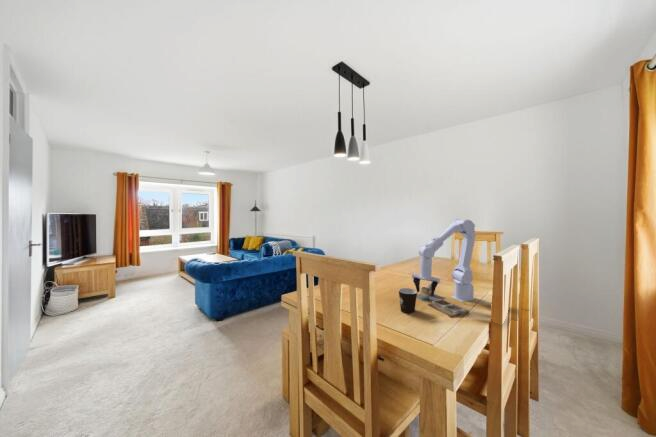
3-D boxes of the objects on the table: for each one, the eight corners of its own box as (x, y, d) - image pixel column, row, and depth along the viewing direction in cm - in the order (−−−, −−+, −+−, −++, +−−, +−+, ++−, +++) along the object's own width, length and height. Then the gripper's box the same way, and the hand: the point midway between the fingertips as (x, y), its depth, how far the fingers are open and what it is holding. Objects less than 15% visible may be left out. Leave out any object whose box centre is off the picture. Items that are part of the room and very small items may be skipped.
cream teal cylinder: (425, 297, 136) (425, 286, 136) (431, 299, 132) (431, 289, 132) (419, 298, 134) (419, 287, 134) (425, 300, 131) (425, 289, 130)
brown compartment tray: (445, 302, 129) (445, 298, 129) (469, 313, 116) (469, 308, 116) (427, 305, 125) (427, 301, 125) (450, 317, 112) (450, 312, 112)
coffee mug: (418, 315, 114) (418, 294, 113) (399, 314, 115) (399, 293, 115) (414, 305, 125) (414, 286, 125) (397, 304, 127) (397, 285, 126)
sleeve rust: (429, 293, 142) (430, 283, 142) (435, 295, 138) (435, 285, 138) (424, 294, 141) (424, 284, 140) (429, 296, 137) (429, 286, 137)
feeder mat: (431, 293, 144) (431, 292, 144) (444, 299, 134) (444, 298, 134) (412, 296, 139) (412, 295, 139) (425, 302, 129) (425, 301, 129)
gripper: (410, 268, 134) (409, 292, 134) (438, 272, 125) (437, 298, 125) (414, 265, 139) (413, 289, 140) (441, 269, 130) (440, 294, 131)
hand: (425, 293), depth 133 cm, fingers open, 7 cm apart
